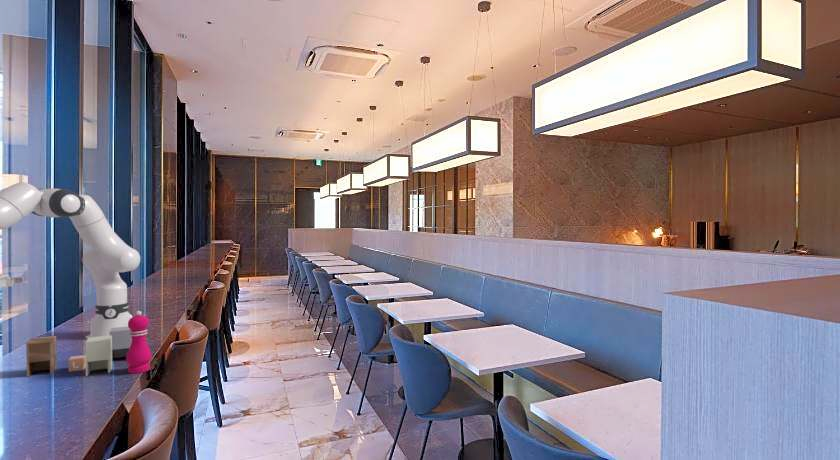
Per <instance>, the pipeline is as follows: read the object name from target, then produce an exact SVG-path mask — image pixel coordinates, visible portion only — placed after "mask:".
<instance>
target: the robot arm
mask: <svg viewBox="0 0 840 460" xmlns="http://www.w3.org/2000/svg"><path fill="white" fill-rule="evenodd" d="M31 213H32V215H35V216H39V217H46V218H69V219H70V220H71V223H72V225H73V226H74V228H75V230H76V231H77V233H78V234H79V237H80V238H81V240H82V241H83V242H84V243H85V244H86V245H87V246H89V247H91V248H89V249H87V250H86V251H85V252H84V253H83V255H82V260H81V261H82V263H83V266H84V267H85V268H86V269H87V270H88V271H89V272H90V274H91V276H92V278H93V282H94V285H95V295H96V296H95V297H96V304H95V307H94V311H95V313H94V316H93V317H92V318H91V319H90V333H89V334H88V335H86V336H85V340H87V339H88V338H90V337H100V336H110V334H109V332H110V330H111V328H117V327H128V321H129V320H130V319H131V318H132V317H133V315H132V314H131V313H130V312H129V310H130V309H129V307H130V306H129V302H128V285H127V283H126V282H125V281H124V280H123V279H122V278H121V275H120V273H126V272H127V273H128V272H131V271H134V270H137V268H138V267H139V266H140V263H141V255H140V253H139V251H138V250H136V249H135V248H133V247H131V246H130V245H129V244H127V243H125V241H124V240H123V239H122V238H121V237H120V236H119V235H118V234H117V233H116V232H115V231H114V229H113V228H112V226H111V224H110V222H109V221H108V220H107V218H106V216H105V214H104V212H103V211H102V208H101V207H100V206H99V205H98V204H97V202H96V201H95V200H94V199H93V198H92V197H91V196H90V195H88V194H78V193H77V192H75V191H72V190H70V189H63V188H37V187H36V186H34V185H32V184H31V183H27V182H22V181H21V182H17V183H15V184H12V185H10V186H8V187H6V188H4V189H1V190H0V230H6V229H8V228H11V227H12V226H14V225H16V224H17V223H18V222H20V221H21V220H23V219H25V217H27V216H28V215H29V214H31ZM23 282H24V277H23V276H18V277H17V276H10V274H7V273H0V288H7V287H14V286H15V284H21V283H23Z"/></svg>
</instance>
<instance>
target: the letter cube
mask: <svg viewBox="0 0 840 460" xmlns="http://www.w3.org/2000/svg"><path fill="white" fill-rule="evenodd" d="M67 362H68V372H76V371H84V370H85V369H86V354H85V355H75V356H73V355H72V356H70V357H69V359H68V361H67Z"/></svg>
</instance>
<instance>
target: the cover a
mask: <svg viewBox="0 0 840 460" xmlns="http://www.w3.org/2000/svg"><path fill="white" fill-rule="evenodd" d="M25 346H26V349H25V351H26V354H25V356H26V378H27V377H30V376H31V375H32V374H33V372H39V371H47V370H49V375H50V374H53V373H54V372H55V370H57V336H56V335H52V336H40V337H31V338H30V339H29V340H27V341H26V342H25Z"/></svg>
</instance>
